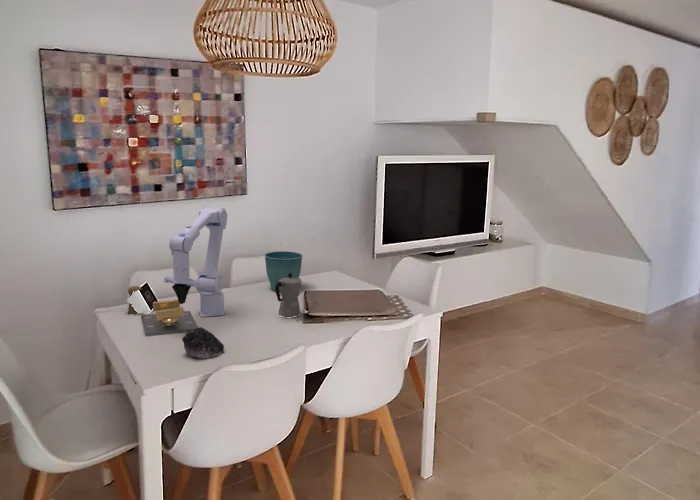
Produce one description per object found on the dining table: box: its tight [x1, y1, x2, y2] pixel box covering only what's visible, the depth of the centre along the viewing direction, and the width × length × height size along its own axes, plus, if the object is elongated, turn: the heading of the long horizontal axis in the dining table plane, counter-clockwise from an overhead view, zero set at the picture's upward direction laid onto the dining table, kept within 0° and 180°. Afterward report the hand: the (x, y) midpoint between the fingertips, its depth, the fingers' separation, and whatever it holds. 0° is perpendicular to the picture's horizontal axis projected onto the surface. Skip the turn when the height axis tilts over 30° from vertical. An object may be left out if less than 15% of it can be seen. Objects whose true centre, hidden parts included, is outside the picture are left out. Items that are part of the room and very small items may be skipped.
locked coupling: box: [152, 298, 181, 312], centre depth 227 cm, size 6×10×5 cm, turn 114°
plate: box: [140, 310, 199, 337], centre depth 222 cm, size 19×22×2 cm
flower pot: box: [264, 250, 303, 292], centre depth 274 cm, size 18×18×17 cm
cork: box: [127, 285, 142, 315], centre depth 232 cm, size 6×6×11 cm
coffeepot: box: [274, 273, 302, 317], centre depth 235 cm, size 15×9×18 cm, turn 145°
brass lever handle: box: [155, 306, 185, 325], centre depth 217 cm, size 6×10×5 cm, turn 122°
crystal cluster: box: [181, 326, 225, 359], centre depth 195 cm, size 13×14×10 cm
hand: (182, 303), depth 215 cm, fingers closed
